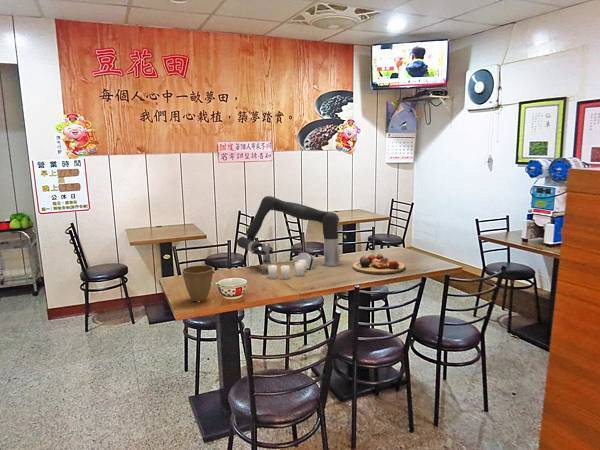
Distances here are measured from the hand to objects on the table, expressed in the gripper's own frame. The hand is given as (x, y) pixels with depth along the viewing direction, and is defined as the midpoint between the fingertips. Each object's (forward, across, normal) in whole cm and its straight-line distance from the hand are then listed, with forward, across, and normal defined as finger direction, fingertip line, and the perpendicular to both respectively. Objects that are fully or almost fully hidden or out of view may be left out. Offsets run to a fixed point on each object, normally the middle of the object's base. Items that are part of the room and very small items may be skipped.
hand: (268, 252), depth 261 cm
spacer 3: (+14, +13, +12) cm, 23 cm away
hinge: (0, +26, +13) cm, 29 cm away
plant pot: (+23, -51, +13) cm, 58 cm away
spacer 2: (+15, +3, +13) cm, 20 cm away
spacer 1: (+9, -2, +13) cm, 16 cm away
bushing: (-3, 0, +7) cm, 8 cm away
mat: (-2, 0, +13) cm, 13 cm away
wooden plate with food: (+30, +60, +13) cm, 69 cm away
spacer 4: (+9, +18, +13) cm, 24 cm away
